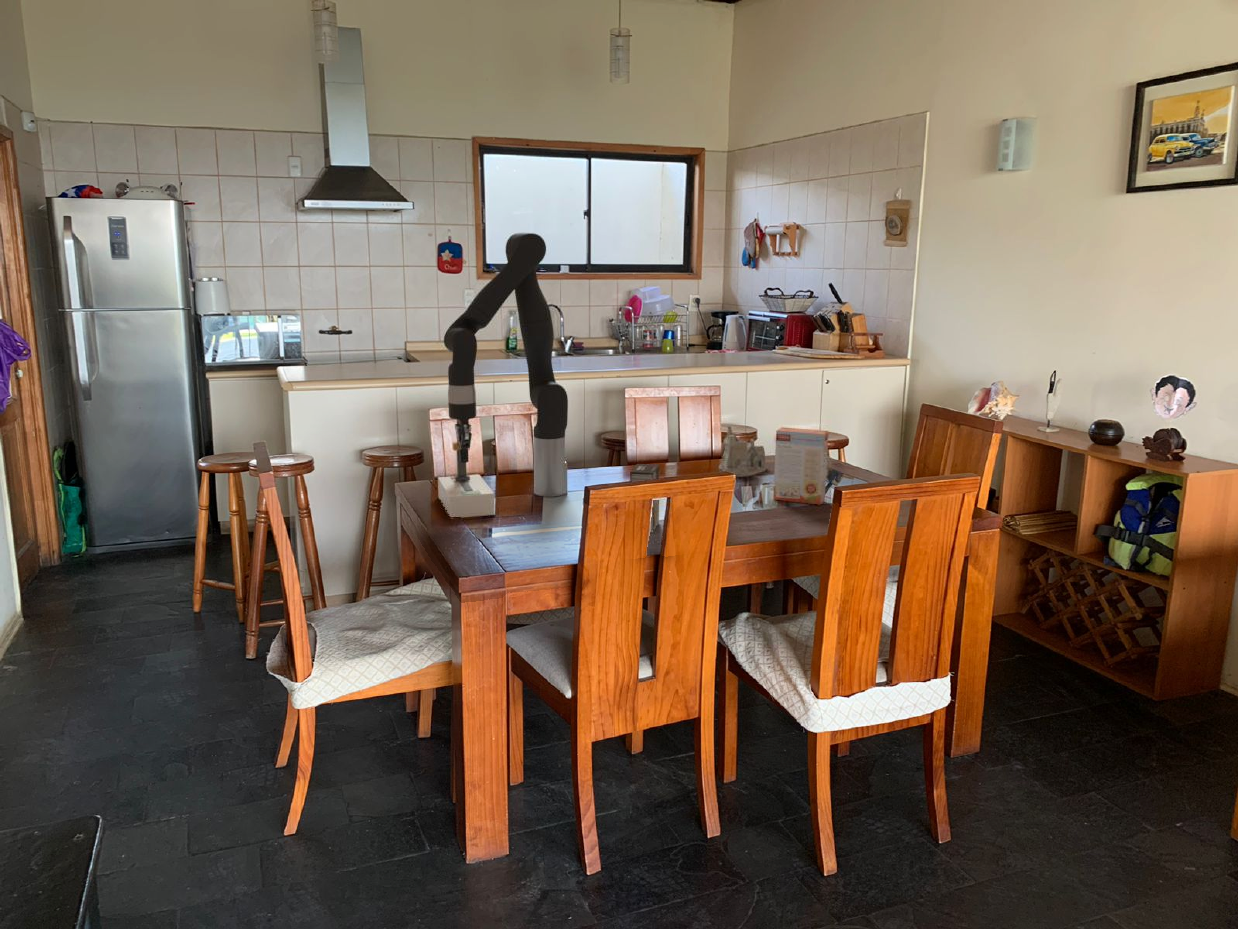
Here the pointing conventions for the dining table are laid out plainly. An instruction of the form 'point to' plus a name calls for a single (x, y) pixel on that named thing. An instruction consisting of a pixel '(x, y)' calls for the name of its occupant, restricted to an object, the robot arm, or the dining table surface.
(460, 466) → the breaker knob
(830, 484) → the dining table surface
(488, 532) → the dining table surface
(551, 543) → the dining table surface
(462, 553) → the dining table surface
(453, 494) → the switch panel
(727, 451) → the ceramic cottage
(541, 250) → the robot arm
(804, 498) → the cracker box
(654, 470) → the coffee box
